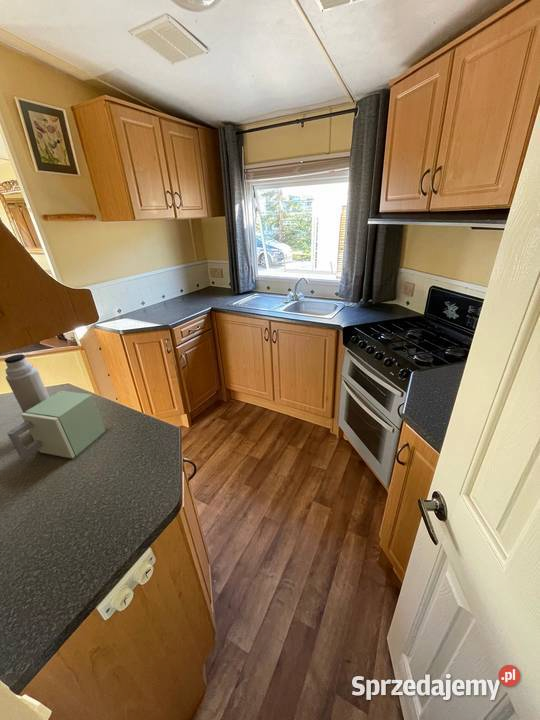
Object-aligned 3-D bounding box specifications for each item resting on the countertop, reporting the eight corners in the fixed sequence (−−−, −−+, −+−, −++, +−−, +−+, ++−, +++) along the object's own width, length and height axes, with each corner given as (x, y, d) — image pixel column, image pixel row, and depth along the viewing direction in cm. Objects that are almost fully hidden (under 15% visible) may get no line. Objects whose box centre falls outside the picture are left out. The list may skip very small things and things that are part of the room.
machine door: (55, 473, 83) (34, 433, 76) (21, 466, 86) (-1, 427, 80) (75, 456, 89) (57, 417, 82) (43, 450, 92) (24, 412, 86)
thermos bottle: (29, 433, 100) (-9, 360, 88) (53, 419, 107) (21, 350, 94) (42, 439, 97) (5, 364, 85) (66, 425, 103) (35, 353, 91)
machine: (76, 456, 89) (58, 416, 82) (44, 449, 92) (24, 411, 86) (105, 431, 99) (91, 394, 93) (75, 426, 102) (60, 390, 96)
